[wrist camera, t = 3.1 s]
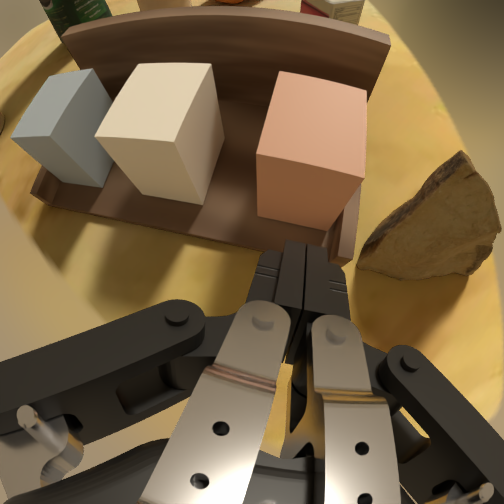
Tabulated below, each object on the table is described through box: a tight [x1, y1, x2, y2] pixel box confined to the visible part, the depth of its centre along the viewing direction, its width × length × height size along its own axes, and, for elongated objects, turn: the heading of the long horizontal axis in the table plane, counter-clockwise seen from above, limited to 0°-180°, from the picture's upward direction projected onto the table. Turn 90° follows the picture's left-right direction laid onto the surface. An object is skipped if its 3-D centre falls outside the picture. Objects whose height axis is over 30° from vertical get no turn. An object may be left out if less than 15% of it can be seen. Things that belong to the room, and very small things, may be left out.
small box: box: [300, 0, 365, 25], centre depth 22 cm, size 5×4×8 cm
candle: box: [137, 0, 192, 11], centre depth 22 cm, size 6×6×10 cm
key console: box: [30, 6, 391, 268], centre depth 18 cm, size 14×26×10 cm, turn 77°
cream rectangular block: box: [94, 63, 225, 205], centre depth 18 cm, size 6×5×8 cm
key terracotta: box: [256, 71, 367, 231], centre depth 17 cm, size 6×5×8 cm
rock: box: [357, 150, 501, 280], centre depth 17 cm, size 11×9×10 cm
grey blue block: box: [10, 68, 114, 188], centre depth 18 cm, size 6×5×8 cm
